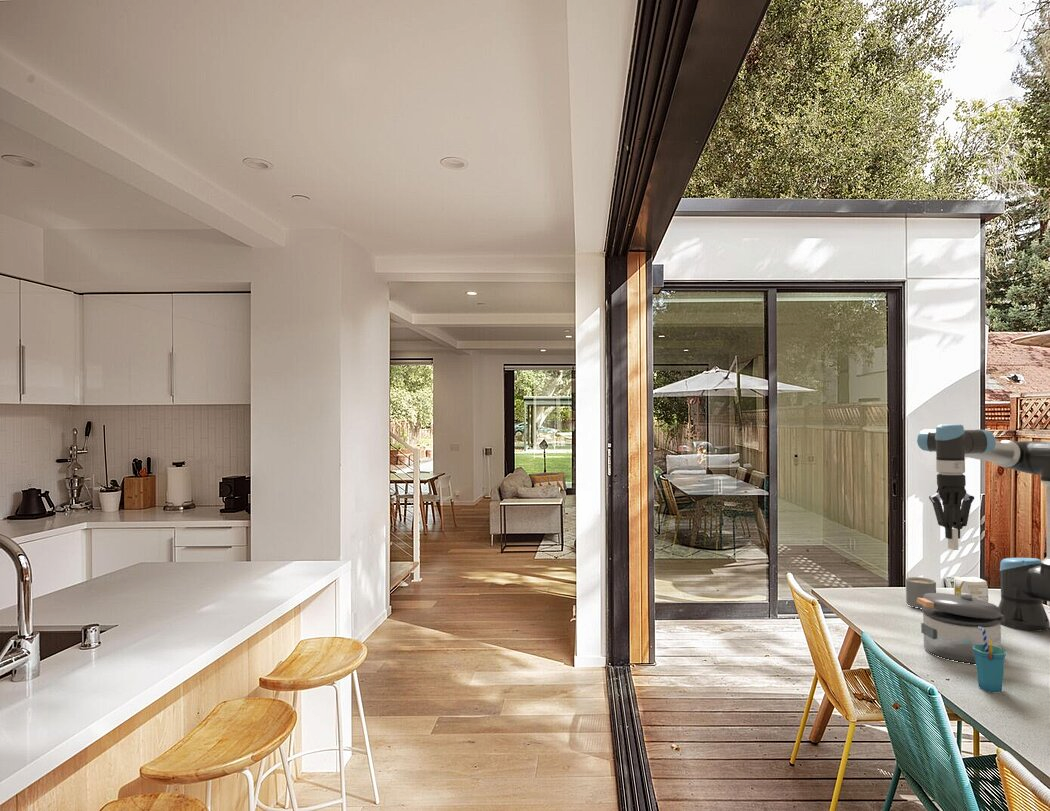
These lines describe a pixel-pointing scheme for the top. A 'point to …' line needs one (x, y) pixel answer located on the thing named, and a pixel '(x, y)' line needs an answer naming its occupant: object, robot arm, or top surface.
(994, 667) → the cup
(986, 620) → the cooker
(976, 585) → the juice carton
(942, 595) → the cooker lid
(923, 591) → the coffee mug
